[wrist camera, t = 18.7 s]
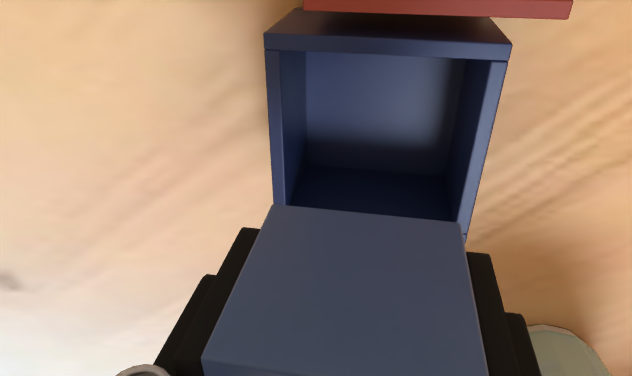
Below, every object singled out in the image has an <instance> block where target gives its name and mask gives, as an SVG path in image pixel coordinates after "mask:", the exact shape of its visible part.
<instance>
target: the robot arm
mask: <svg viewBox="0 0 632 376" xmlns="http://www.w3.org/2000/svg"><path fill="white" fill-rule="evenodd" d="M259 232H260V229H255V228H246V227H243V228H242V229H241V230H240V232H239V234H238V235H237V237H236V239H235V241H234V243H233V245H232V247H231V249H230V251H229V252H228V254H227V256H226V258H225V260H224V262H223V264H222V266H221V268H220V269H219V271H218V273H217V275H210V274H206V275H205V276H204V277H203V278H202V279H201V281H200V283H199V284H198V286H197V288H196V290H195V291H194V293H193V295H192V297H191V298H190V300H189V302H188V304H187V305H186V307H185V309H184V311H183V313H182V314H181V316H180V318H179V320H178V321H177V323H176V325H175V327H174V328H173V330H172V332H171V334H170V335H169V337H168V339H167V341H166V343H165V344H164V346H163V348H162V350H161V351H160V353H159V355H158V357H157V358H156V360H155V362H154V364H153V365H148V364H143V365H138V366H133V367H131V368H128V369H126V370H124V371H122V372H120V373H119V374H117V375H116V376H204V372H203V368H202V363H201V356H202V354H203V352H204V349H205V347H206V345H207V343H208V341H209V339H210V337H211V334H212V332H213V330H214V328H215V326H216V324H217V322H218V319H219V317H220V315H221V313H222V311H223V309H224V307H225V304H226V302H227V300H228V298H229V296H230V294H231V292H232V289H233V287H234V285H235V283H236V281H237V279H238V277H239V274H240V272H241V270H242V268H243V266H244V264H245V262H246V259H247V257H248V255H249V253H250V251H251V249H252V247H253V244H254V242H255V240H256V238H257V236H258V234H259ZM466 255H467V261H468V266H469V271H470V277H471V282H472V287H473V292H474V298H475V303H476V308H477V314H478V319H479V324H480V329H481V335H482V340H483V345H484V351H485V356H486V361H487V367H488V372H489V376H542V375H541V371H540V368H539V365H538V362H537V358H536V355H535V352H534V348H533V345H532V342H531V339H530V335H529V332H528V329H527V325H526V322H525V320H524V318H523V316H522V315H521V314H516V313H509V312H505V311H504V307H503V304H502V300H501V296H500V292H499V288H498V284H497V280H496V276H495V273H494V269H493V265H492V261H491V257H490V255H489V254H484V253H475V252H466Z"/></svg>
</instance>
